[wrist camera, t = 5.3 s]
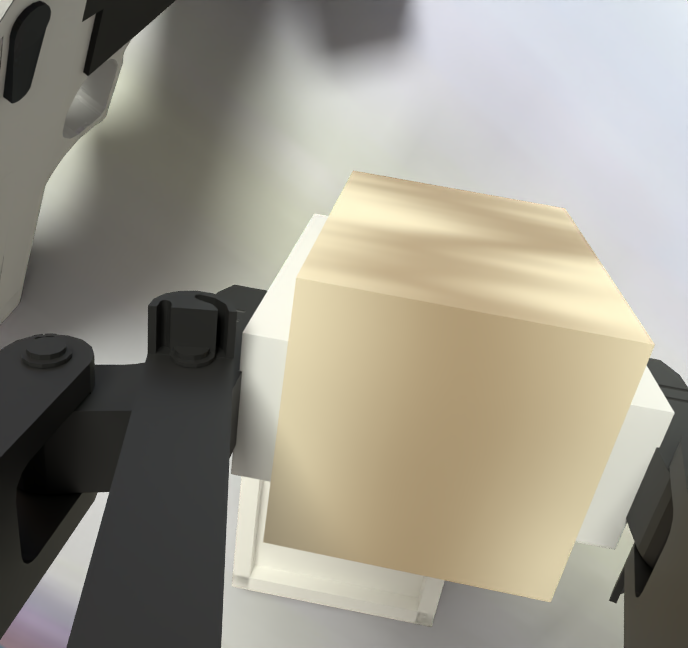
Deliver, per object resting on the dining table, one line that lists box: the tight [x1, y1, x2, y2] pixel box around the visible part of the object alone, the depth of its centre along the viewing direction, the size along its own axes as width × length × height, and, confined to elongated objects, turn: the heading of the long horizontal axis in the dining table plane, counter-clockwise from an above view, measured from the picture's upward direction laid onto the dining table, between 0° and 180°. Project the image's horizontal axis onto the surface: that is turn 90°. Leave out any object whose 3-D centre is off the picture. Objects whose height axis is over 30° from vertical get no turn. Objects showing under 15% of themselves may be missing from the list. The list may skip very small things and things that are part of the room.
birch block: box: [263, 171, 655, 602], centre depth 13 cm, size 5×5×7 cm
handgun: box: [0, 0, 175, 325], centre depth 26 cm, size 4×28×15 cm, turn 141°
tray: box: [232, 476, 445, 627], centre depth 37 cm, size 12×14×2 cm
